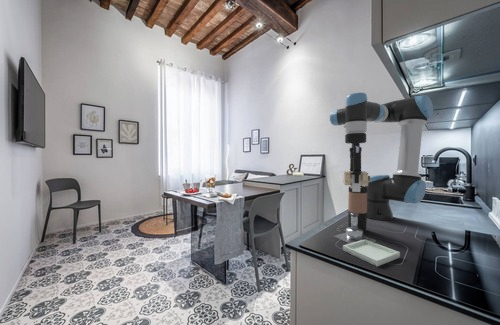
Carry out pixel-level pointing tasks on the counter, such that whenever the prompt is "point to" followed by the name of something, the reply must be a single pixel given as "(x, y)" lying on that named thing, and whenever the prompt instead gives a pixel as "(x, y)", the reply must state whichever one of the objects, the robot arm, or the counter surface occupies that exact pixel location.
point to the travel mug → (358, 206)
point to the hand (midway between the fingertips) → (354, 189)
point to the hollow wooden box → (363, 178)
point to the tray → (371, 252)
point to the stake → (353, 232)
